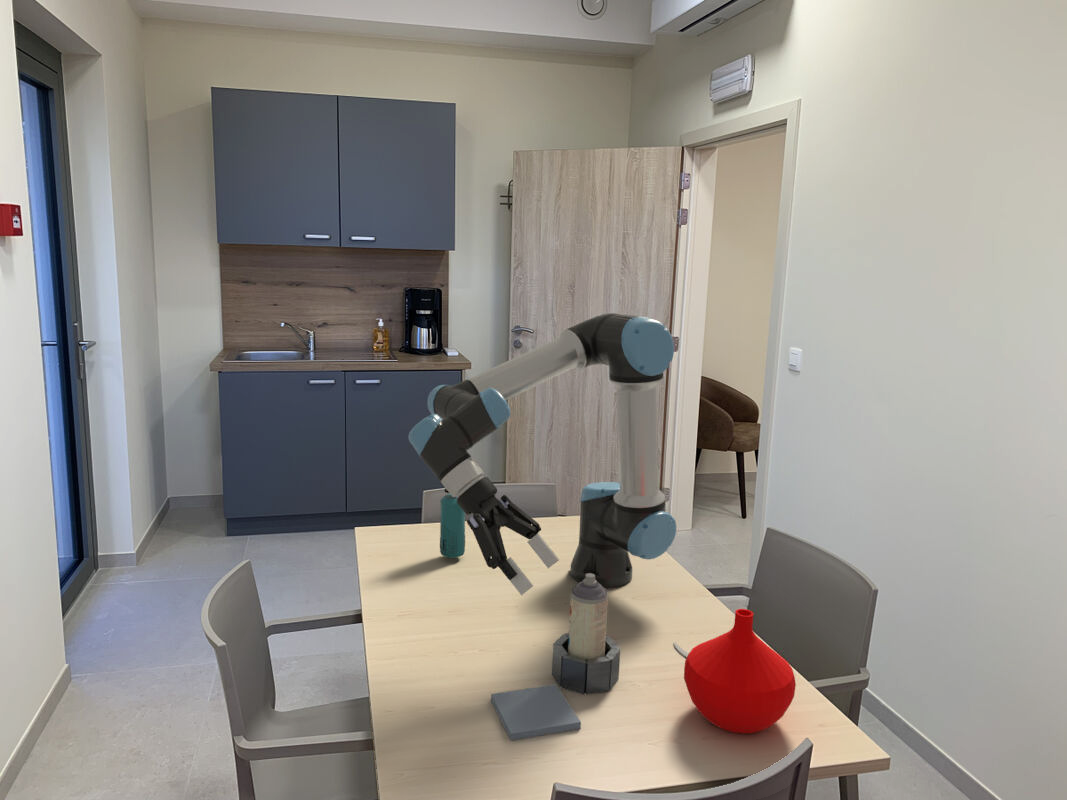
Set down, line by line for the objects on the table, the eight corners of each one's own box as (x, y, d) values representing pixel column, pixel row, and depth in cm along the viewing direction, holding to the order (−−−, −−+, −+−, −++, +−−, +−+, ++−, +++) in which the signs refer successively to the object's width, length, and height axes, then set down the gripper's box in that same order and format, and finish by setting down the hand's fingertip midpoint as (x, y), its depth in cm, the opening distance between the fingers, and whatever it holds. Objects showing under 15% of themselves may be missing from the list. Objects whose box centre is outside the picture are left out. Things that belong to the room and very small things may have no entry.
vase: (660, 699, 140) (667, 598, 137) (744, 680, 147) (753, 584, 144) (723, 760, 123) (733, 647, 120) (814, 735, 131) (826, 628, 127)
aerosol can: (577, 663, 151) (582, 564, 148) (609, 674, 148) (615, 573, 144) (559, 678, 145) (564, 576, 142) (592, 690, 142) (598, 586, 138)
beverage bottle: (470, 557, 202) (471, 482, 198) (454, 565, 196) (455, 488, 193) (450, 551, 205) (451, 477, 201) (433, 559, 200) (434, 483, 196)
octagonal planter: (601, 657, 154) (602, 628, 153) (626, 688, 143) (628, 657, 142) (545, 665, 150) (546, 636, 149) (567, 697, 139) (568, 666, 138)
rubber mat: (555, 690, 142) (555, 684, 141) (580, 728, 130) (580, 721, 130) (490, 700, 138) (491, 694, 137) (511, 740, 126) (511, 733, 126)
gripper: (485, 482, 162) (550, 564, 159) (424, 517, 139) (500, 614, 136) (509, 460, 159) (576, 544, 156) (452, 493, 136) (530, 591, 133)
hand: (541, 577), depth 146 cm, fingers open, 13 cm apart
